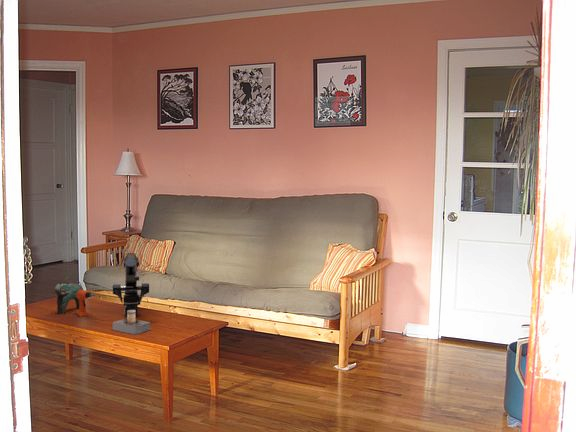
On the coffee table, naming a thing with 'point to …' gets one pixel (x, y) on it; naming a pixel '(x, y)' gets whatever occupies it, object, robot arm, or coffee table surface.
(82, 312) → the toy drill
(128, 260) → the robot arm
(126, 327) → the socket block
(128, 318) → the pin
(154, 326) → the coffee table surface
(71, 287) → the green power drill
